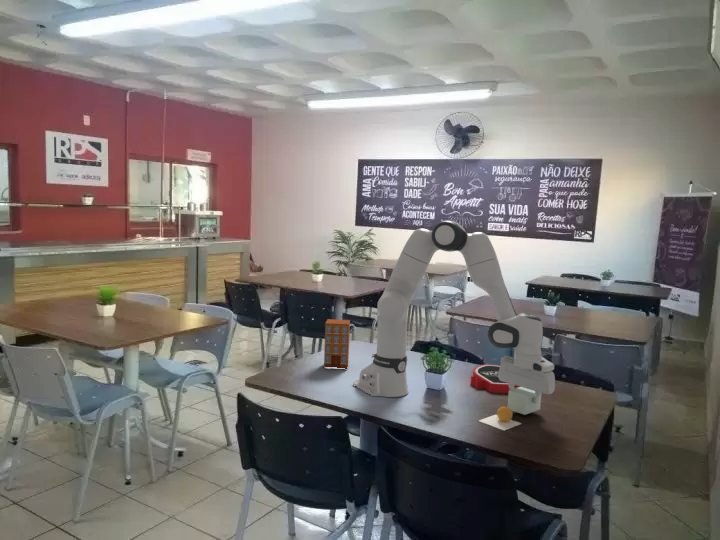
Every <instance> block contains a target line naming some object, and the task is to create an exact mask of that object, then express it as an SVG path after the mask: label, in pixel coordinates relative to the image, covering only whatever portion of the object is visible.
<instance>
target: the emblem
mask: <svg viewBox="0 0 720 540" xmlns="http://www.w3.org/2000/svg"><path fill="white" fill-rule="evenodd" d="M499 369H500V365H498V364H488V363H487V364H486V363H485V364H481V365H478V366H476V367H474V368H473V371H472V373H473V374H472V375H471V376H470V385H471V386H473V387H474V388H475V389H477V390H479V389H480V388H481V389H485V390H486V391H488V392H489V393H497V394H498V393H500V394H509V390H510V389H509V386H508V384H509V383H507V382H504V381H500V379H499V377H498V375H499ZM518 387H520V386H517V385H515V386H514V388H518Z"/></svg>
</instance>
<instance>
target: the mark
mask: <svg viewBox="0 0 720 540" xmlns="http://www.w3.org/2000/svg"><path fill="white" fill-rule="evenodd" d="M478 422H479V423H481V424H484V425H487V426H491V427H493V428H496V429H498V430H501V431H503V432H504V431H507V430H510V429H512V428H514V427H517V426H518V427H519V426H520V425H522V423H521V422H519V421H515V420H512V419H511V420H509V421H507V422H503V421H501V420H500V419H499V418H498V416H497V414H493V415H490V416H488V417H485V418H481V419H479V420H478Z"/></svg>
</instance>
